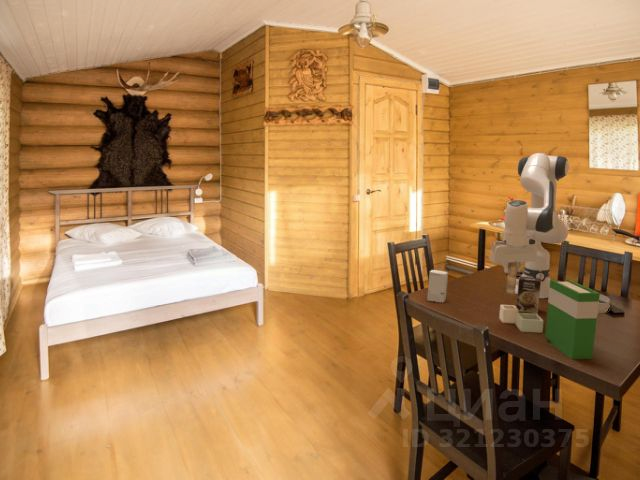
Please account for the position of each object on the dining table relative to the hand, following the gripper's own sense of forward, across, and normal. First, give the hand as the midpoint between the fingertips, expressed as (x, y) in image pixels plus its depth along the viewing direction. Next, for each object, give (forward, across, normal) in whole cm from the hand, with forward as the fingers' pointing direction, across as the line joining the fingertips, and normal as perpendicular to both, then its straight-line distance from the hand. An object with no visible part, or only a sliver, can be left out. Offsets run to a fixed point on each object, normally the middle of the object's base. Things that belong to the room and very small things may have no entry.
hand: (512, 272), depth 186 cm
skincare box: (+23, -16, +35) cm, 44 cm away
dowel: (+9, 0, 0) cm, 9 cm away
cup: (+22, 0, 0) cm, 22 cm away
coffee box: (+23, +16, +10) cm, 30 cm away
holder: (+22, +2, -10) cm, 24 cm away
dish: (+23, +48, +12) cm, 55 cm away
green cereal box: (+22, +5, -28) cm, 36 cm away
